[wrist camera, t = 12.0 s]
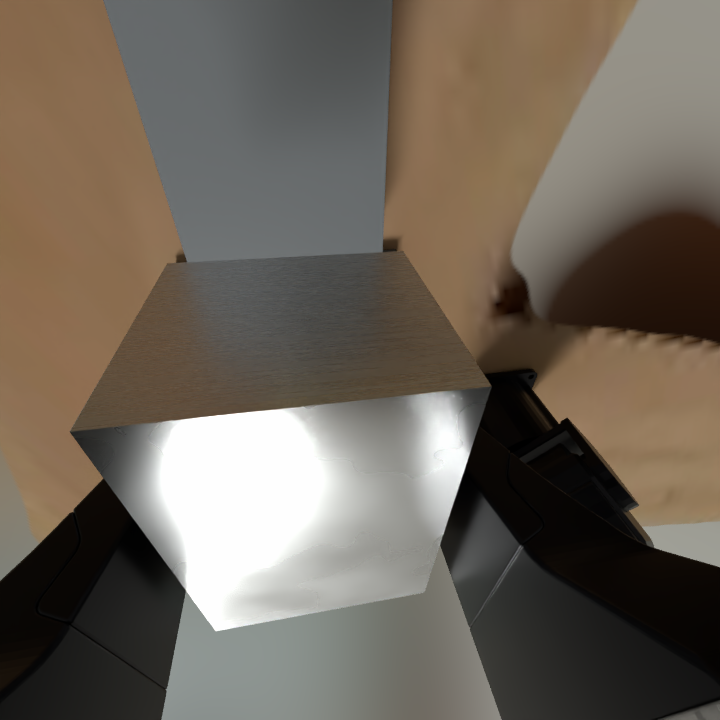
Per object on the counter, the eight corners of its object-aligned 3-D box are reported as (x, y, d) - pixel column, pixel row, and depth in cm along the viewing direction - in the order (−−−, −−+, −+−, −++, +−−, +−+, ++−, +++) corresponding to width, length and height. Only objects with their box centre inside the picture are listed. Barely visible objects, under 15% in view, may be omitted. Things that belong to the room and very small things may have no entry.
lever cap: (403, 251, 8) (491, 386, 5) (385, 447, 13) (424, 592, 9) (167, 263, 8) (70, 431, 4) (235, 466, 12) (215, 631, 8)
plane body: (378, -247, 11) (494, -587, 5) (370, 242, 20) (407, 314, 15) (48, -285, 10) (-283, -783, 4) (202, 254, 19) (171, 338, 14)
